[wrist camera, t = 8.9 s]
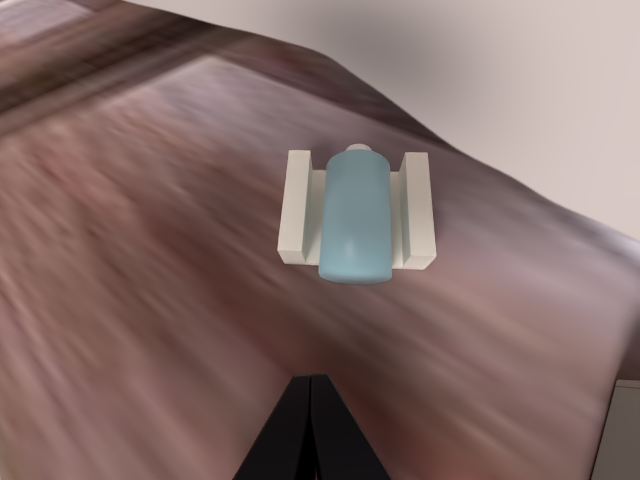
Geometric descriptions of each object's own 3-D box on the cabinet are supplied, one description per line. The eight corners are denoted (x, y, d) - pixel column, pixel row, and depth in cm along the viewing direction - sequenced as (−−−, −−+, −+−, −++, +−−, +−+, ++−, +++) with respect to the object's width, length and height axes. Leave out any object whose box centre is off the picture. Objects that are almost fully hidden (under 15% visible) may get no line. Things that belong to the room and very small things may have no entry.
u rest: (423, 269, 22) (436, 256, 19) (284, 263, 23) (277, 250, 20) (417, 175, 25) (427, 152, 22) (294, 172, 26) (289, 150, 23)
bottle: (401, 268, 17) (397, 134, 21) (320, 262, 17) (329, 128, 21) (382, 287, 22) (381, 172, 25) (317, 281, 22) (325, 168, 25)
